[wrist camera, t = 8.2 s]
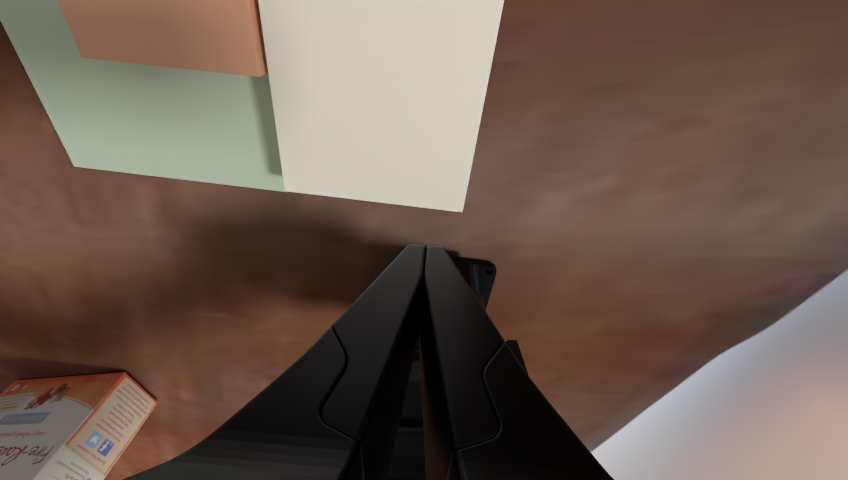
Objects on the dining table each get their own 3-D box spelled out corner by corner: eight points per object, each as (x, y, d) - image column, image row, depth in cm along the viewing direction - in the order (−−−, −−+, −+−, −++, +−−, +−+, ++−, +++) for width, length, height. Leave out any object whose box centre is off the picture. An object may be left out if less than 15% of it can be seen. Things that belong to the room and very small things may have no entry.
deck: (461, 195, 22) (462, 212, 20) (297, 175, 22) (284, 190, 20) (556, -310, 11) (574, -360, 10) (237, -355, 11) (200, -413, 9)
